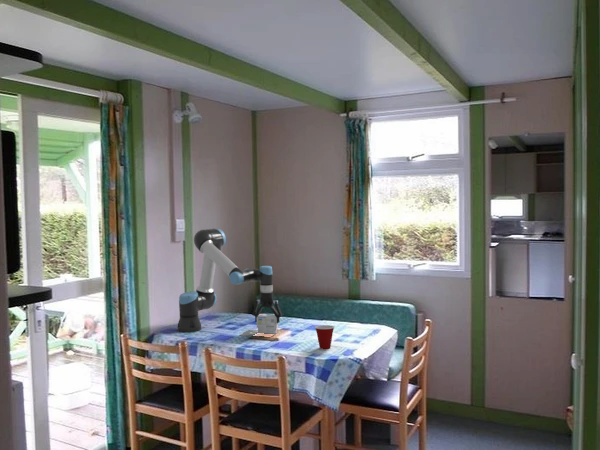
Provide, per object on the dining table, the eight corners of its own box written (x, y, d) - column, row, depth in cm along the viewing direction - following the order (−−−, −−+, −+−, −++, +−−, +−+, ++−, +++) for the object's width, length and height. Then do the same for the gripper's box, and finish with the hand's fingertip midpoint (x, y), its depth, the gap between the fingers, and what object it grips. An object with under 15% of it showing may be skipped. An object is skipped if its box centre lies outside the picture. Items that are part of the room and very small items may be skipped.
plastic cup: (333, 344, 289) (333, 323, 289) (335, 350, 278) (335, 328, 278) (314, 345, 289) (314, 323, 288) (315, 350, 278) (315, 328, 277)
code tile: (239, 335, 314) (239, 335, 314) (248, 330, 327) (248, 329, 327) (270, 337, 307) (270, 337, 307) (278, 331, 321) (278, 331, 321)
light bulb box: (276, 331, 317) (276, 313, 316) (275, 334, 310) (275, 316, 310) (259, 330, 318) (259, 313, 318) (257, 333, 311) (257, 315, 311)
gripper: (245, 292, 313) (246, 328, 314) (283, 293, 306) (283, 330, 307) (250, 290, 320) (251, 325, 321) (287, 291, 313) (288, 327, 314)
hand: (267, 327), depth 314 cm, fingers open, 11 cm apart
